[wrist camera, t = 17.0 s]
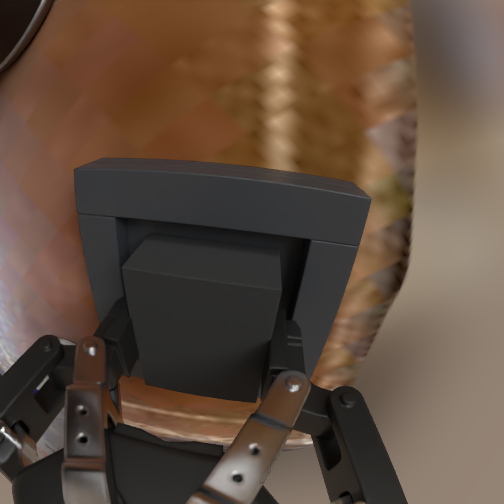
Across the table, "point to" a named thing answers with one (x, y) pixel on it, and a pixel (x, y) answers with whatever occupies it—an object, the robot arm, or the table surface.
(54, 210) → the table surface
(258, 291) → the black pad
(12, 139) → the table surface
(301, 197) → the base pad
